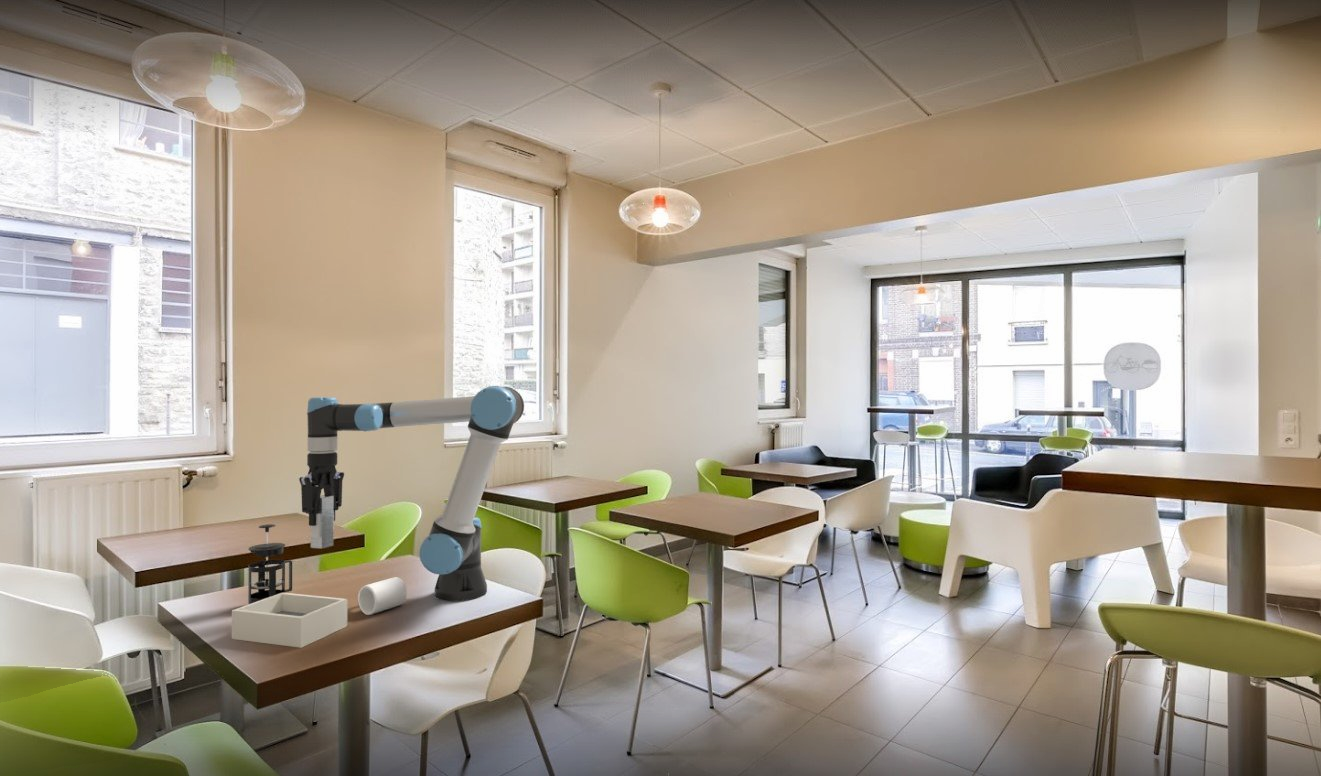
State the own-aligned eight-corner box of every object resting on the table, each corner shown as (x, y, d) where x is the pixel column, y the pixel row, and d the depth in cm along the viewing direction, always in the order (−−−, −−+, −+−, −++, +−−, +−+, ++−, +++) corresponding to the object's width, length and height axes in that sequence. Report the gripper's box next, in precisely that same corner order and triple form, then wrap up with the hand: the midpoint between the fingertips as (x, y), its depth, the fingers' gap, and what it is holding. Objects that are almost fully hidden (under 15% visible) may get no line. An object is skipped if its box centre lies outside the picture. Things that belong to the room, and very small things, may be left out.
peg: (333, 545, 185) (333, 495, 185) (321, 548, 181) (321, 497, 181) (322, 544, 186) (322, 495, 186) (310, 547, 182) (310, 497, 182)
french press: (251, 614, 179) (251, 530, 179) (239, 606, 185) (240, 525, 185) (297, 603, 188) (297, 523, 188) (285, 597, 194) (285, 519, 194)
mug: (407, 607, 185) (407, 578, 185) (375, 617, 176) (375, 587, 176) (379, 600, 191) (379, 573, 191) (348, 610, 182) (348, 581, 182)
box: (347, 626, 169) (347, 599, 170) (300, 647, 155) (301, 618, 155) (282, 618, 175) (282, 592, 175) (231, 638, 161) (231, 610, 161)
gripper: (336, 449, 193) (336, 528, 193) (285, 454, 177) (285, 540, 177) (356, 449, 190) (356, 530, 190) (307, 455, 174) (306, 542, 174)
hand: (322, 535), depth 183 cm, fingers closed on peg, 4 cm apart
